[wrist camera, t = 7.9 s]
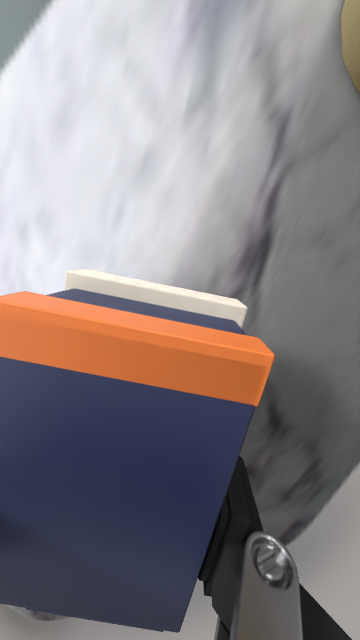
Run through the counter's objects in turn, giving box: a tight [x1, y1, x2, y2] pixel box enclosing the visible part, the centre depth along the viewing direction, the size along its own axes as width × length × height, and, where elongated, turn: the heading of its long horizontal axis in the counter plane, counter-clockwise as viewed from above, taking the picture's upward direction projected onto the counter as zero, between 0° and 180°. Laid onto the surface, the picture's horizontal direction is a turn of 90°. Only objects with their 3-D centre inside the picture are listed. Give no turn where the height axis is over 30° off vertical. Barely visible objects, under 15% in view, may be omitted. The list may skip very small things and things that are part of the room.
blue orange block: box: [0, 269, 275, 633], centre depth 8 cm, size 13×6×5 cm, turn 169°
